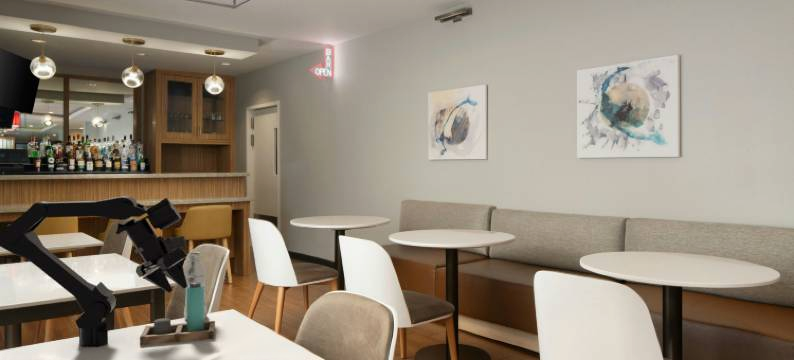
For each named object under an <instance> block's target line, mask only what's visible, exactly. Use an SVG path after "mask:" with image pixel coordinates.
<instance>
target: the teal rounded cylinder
mask: <svg viewBox="0 0 794 360" xmlns="http://www.w3.org/2000/svg"><path fill="white" fill-rule="evenodd" d="M185 299H186V311H187V320H186V323H187V332H194V331H204V322H205V319H204V285H201V283H200V282H193V283H190V284H189V286H187V287H186V290H185Z"/></svg>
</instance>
